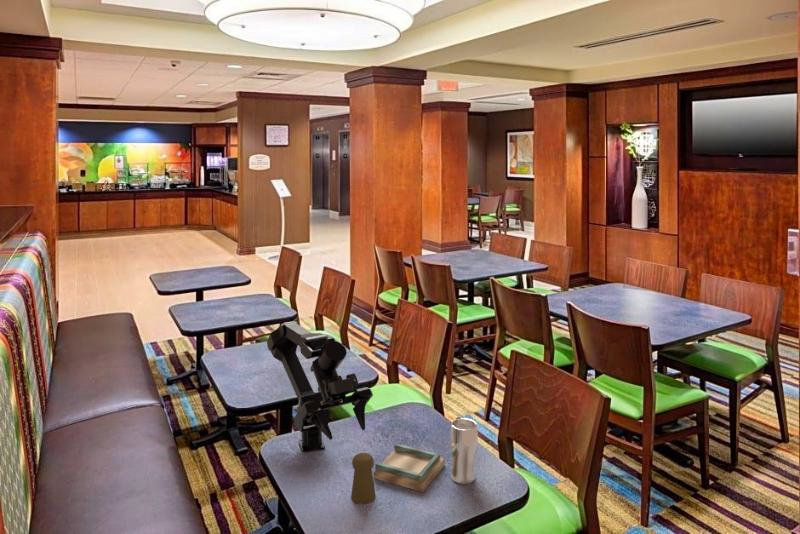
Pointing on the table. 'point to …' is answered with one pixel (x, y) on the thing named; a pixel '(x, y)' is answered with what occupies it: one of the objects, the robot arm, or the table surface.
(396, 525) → the table surface
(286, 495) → the table surface
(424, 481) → the dock
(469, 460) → the silver metal tumbler
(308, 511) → the table surface
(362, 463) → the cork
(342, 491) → the table surface
